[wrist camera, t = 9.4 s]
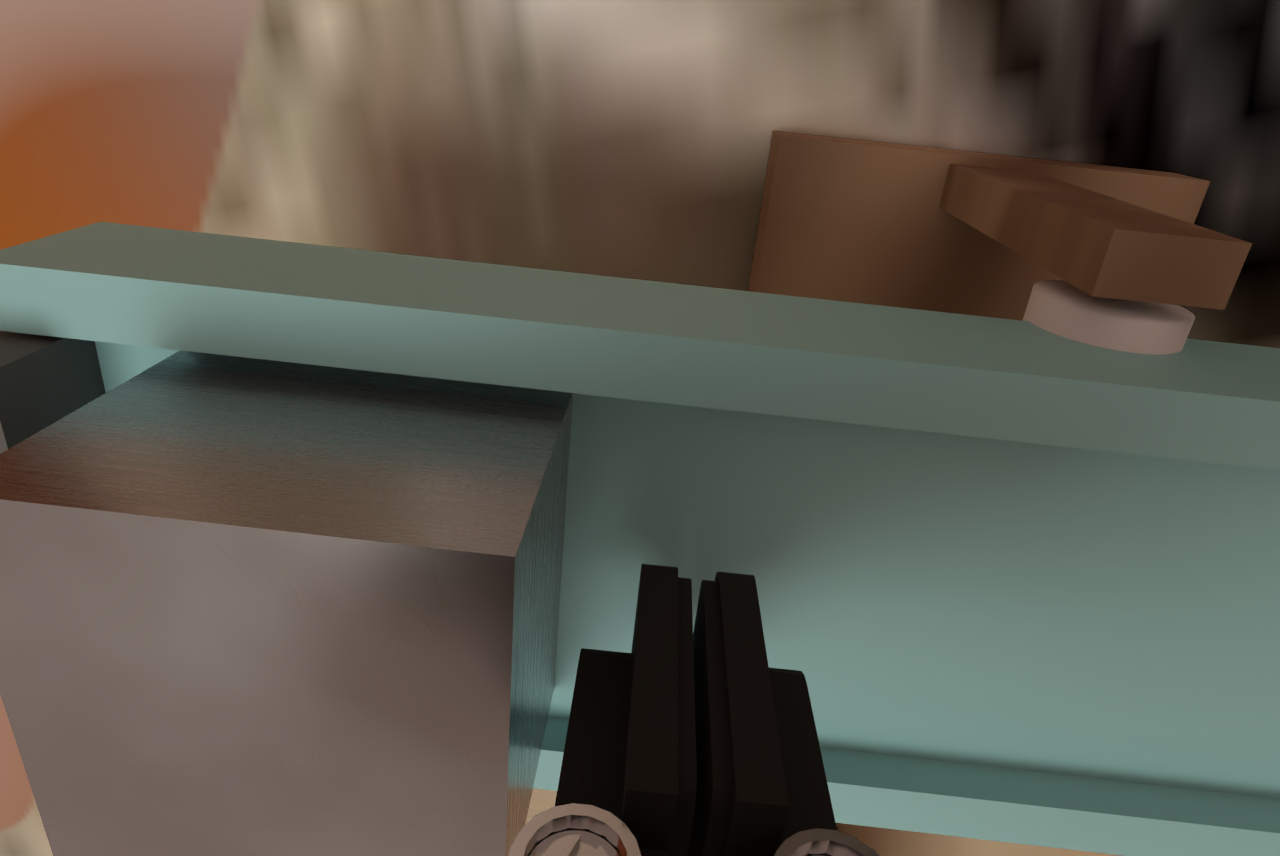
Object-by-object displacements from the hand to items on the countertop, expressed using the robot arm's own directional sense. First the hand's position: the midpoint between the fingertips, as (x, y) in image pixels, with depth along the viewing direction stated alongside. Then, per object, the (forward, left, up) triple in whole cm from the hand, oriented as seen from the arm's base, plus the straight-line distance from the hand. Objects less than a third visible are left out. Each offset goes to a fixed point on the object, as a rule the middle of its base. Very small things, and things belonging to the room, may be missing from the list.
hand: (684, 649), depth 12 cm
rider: (+5, 0, -2) cm, 5 cm away
